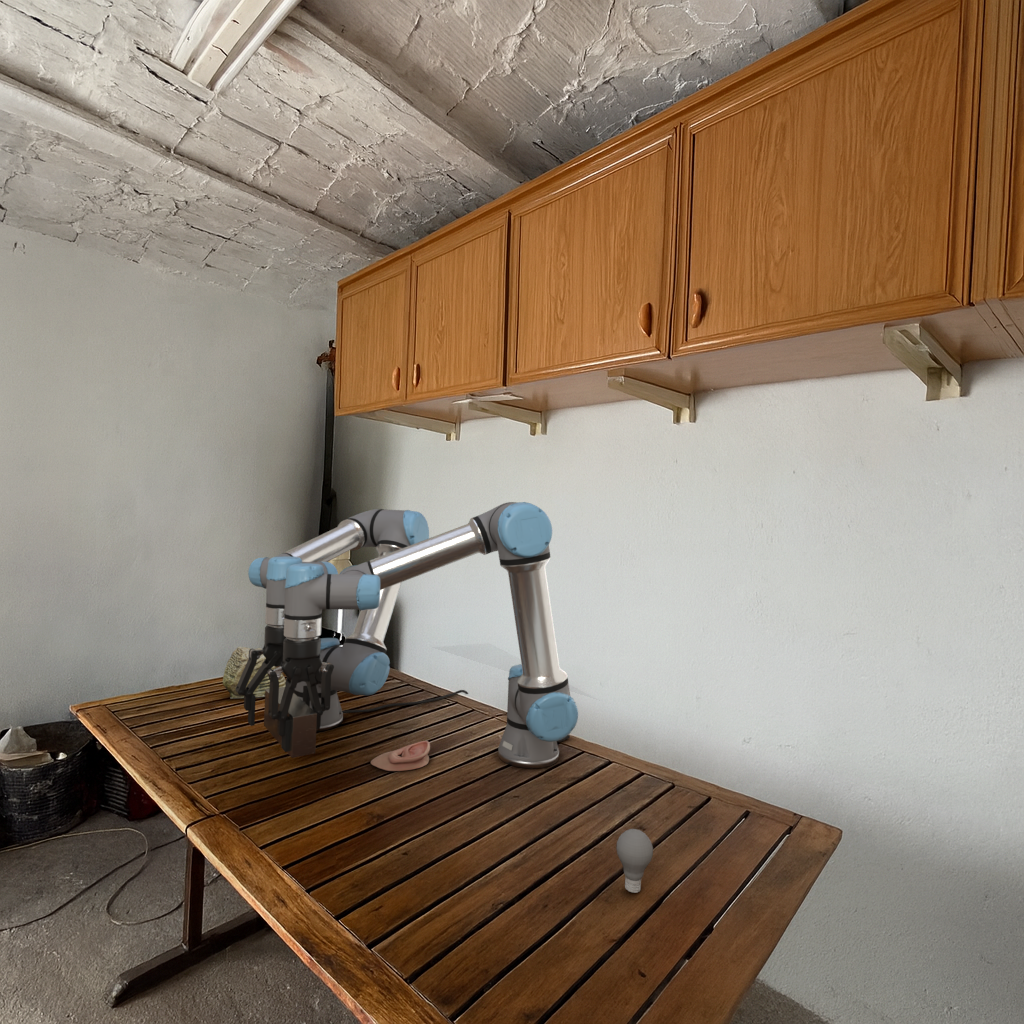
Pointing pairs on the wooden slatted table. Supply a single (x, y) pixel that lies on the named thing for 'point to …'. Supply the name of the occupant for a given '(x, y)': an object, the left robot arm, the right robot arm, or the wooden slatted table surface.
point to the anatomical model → (404, 757)
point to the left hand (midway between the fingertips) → (279, 719)
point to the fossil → (236, 670)
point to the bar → (295, 725)
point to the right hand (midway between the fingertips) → (298, 746)
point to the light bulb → (634, 857)
